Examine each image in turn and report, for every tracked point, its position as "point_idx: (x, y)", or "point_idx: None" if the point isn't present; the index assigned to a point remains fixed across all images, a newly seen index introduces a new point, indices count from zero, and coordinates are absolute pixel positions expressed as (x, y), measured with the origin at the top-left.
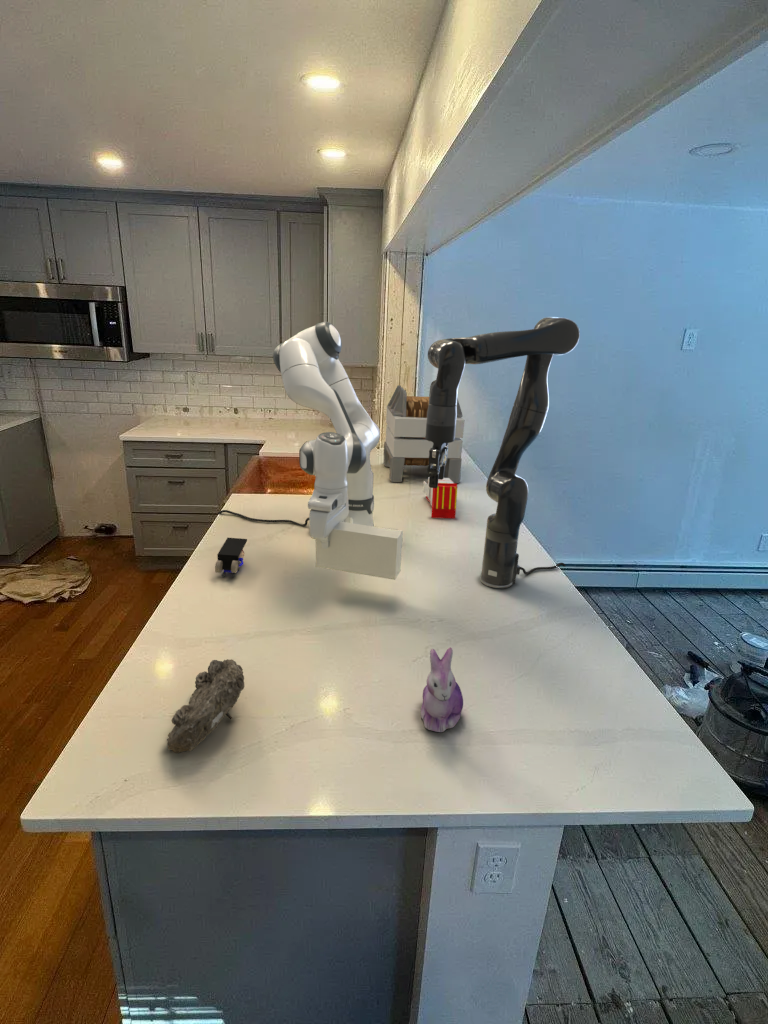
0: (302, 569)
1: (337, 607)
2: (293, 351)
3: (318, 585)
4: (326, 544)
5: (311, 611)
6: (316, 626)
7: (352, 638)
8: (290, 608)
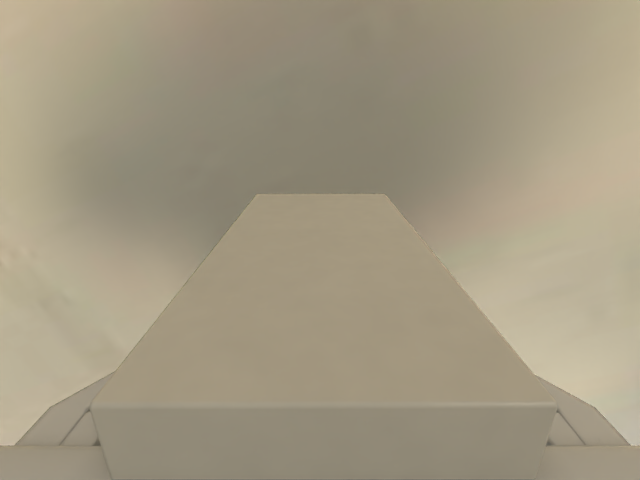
0: (460, 14)
1: None
2: None
3: (320, 164)
4: None
5: (114, 220)
6: (39, 273)
7: (48, 383)
8: (88, 134)
